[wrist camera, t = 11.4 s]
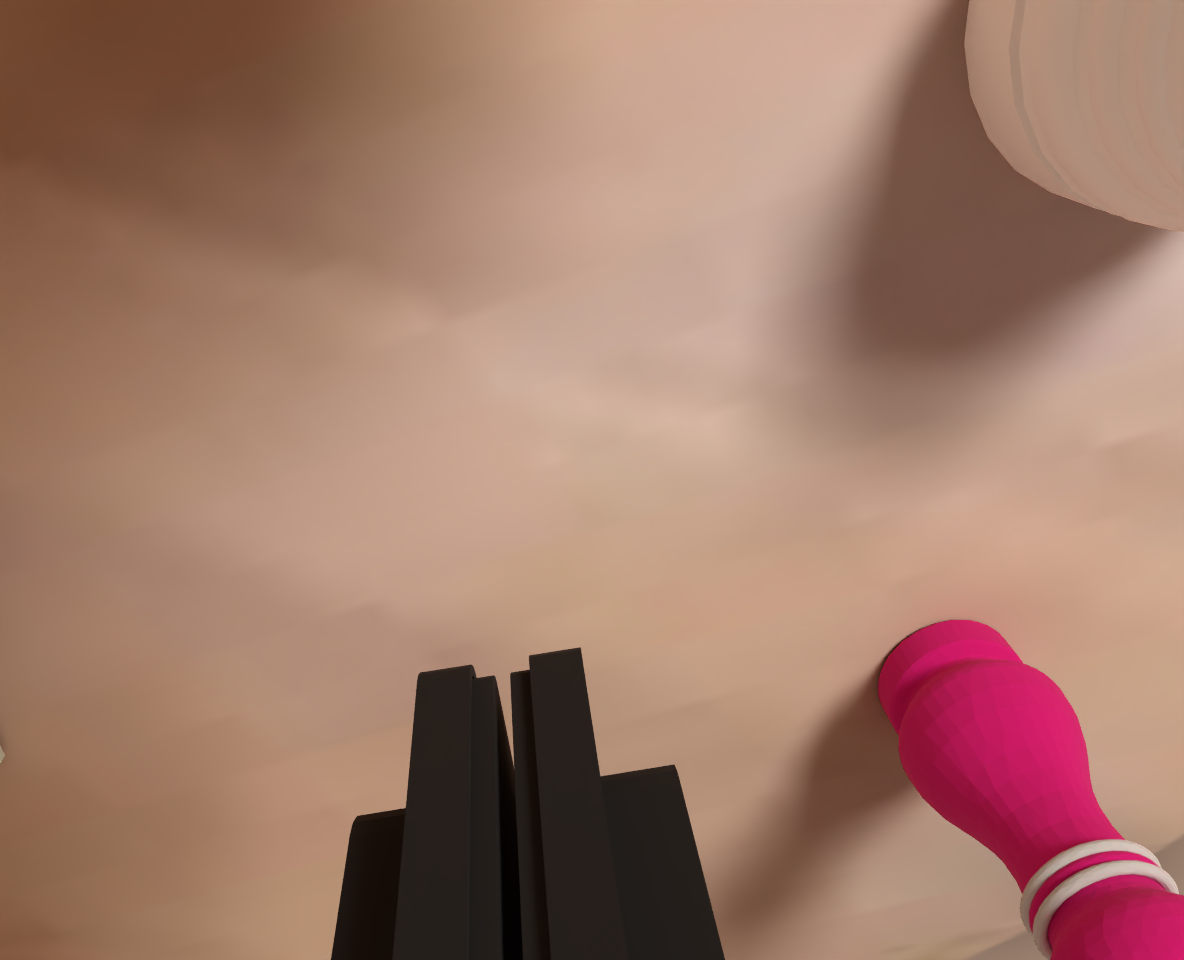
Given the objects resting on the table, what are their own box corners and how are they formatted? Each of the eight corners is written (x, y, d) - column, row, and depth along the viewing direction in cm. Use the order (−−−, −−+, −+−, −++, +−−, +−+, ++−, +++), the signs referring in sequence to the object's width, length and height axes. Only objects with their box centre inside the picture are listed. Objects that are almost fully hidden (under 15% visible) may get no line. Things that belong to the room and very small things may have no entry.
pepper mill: (1038, 695, 47) (1382, 1133, 29) (895, 759, 48) (1144, 1222, 30) (995, 582, 44) (1352, 995, 26) (843, 652, 45) (1087, 1099, 27)
